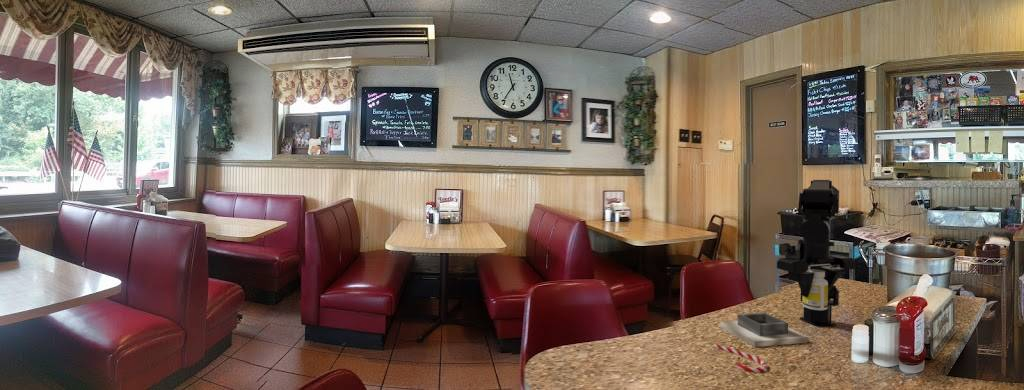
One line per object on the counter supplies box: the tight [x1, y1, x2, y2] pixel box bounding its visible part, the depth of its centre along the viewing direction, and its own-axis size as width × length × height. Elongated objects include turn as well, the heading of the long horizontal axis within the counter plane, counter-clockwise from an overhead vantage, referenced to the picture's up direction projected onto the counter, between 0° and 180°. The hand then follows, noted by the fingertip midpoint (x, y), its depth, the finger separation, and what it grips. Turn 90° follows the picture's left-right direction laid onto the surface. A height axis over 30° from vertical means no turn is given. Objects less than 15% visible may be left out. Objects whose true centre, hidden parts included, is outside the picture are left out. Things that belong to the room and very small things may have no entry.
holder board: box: [719, 312, 809, 348], centre depth 117 cm, size 16×14×4 cm
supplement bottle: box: [801, 269, 828, 310], centre depth 109 cm, size 5×5×10 cm
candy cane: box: [712, 343, 769, 374], centre depth 103 cm, size 8×1×15 cm
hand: (814, 295), depth 110 cm, fingers closed on supplement bottle, 5 cm apart
